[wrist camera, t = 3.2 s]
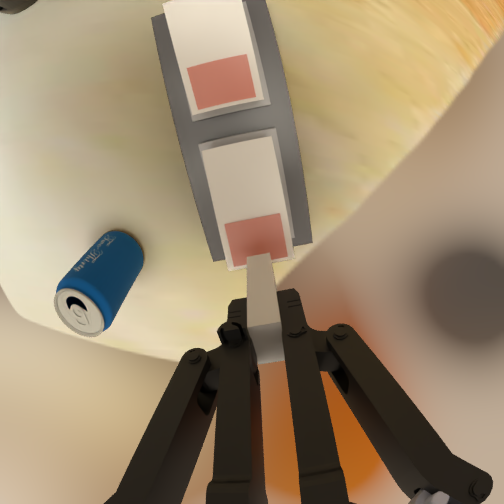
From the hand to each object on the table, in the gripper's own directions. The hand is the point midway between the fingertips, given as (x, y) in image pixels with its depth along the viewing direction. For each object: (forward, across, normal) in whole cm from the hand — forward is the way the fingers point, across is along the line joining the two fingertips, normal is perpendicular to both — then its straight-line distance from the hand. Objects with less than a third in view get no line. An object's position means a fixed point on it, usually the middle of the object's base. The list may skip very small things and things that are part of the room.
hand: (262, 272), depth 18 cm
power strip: (+12, 0, +13) cm, 18 cm away
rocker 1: (+5, 0, +16) cm, 17 cm away
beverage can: (+13, -17, -1) cm, 21 cm away
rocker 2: (+5, 0, +3) cm, 6 cm away
